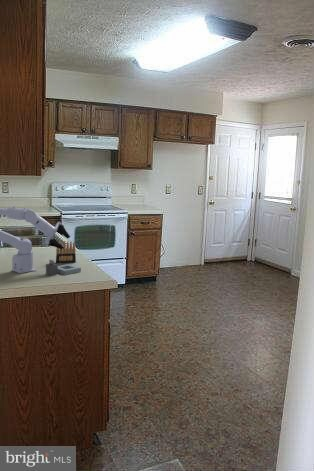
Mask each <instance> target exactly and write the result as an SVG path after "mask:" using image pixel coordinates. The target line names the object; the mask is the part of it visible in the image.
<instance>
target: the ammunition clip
mask: <svg viewBox="0 0 314 471" xmlns="http://www.w3.org/2000/svg"><path fill="white" fill-rule="evenodd" d="M57 242H58V243H59V241H57ZM59 244H61V245H62V246H63V247H64V248H63V249H59V248H57V247H56V250H55V252H56V253H55V255H56V256H55V264H70V263H72V264H73V263H77V262H76V261H77V257H76V256H77V255H76V243H75V241H73V242H72V241H70V243H69V241H63V242H62V241H60V243H59Z"/></svg>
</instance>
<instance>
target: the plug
mask: <svg viewBox="0 0 314 471" xmlns="http://www.w3.org/2000/svg"><path fill="white" fill-rule="evenodd" d="M48 261H49V262H48V263H46V264H45V275H47V274H48V276H50V275H51V276H55V275H56V274H57V275H58V266H59V265H58V264H59V263H56V262H55V259H49V260H48Z"/></svg>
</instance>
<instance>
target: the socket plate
mask: <svg viewBox="0 0 314 471" xmlns="http://www.w3.org/2000/svg"><path fill="white" fill-rule="evenodd" d="M81 271H82V267H80V266H76V265H73V264H70V263H66V264H63V265H61V264H60V265H58V273H59V274H61V275H64V276H65V275H71V274H77V273H81Z"/></svg>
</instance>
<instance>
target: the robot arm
mask: <svg viewBox="0 0 314 471" xmlns="http://www.w3.org/2000/svg"><path fill="white" fill-rule="evenodd" d="M0 216H6V217H7V219H10V220H18V221H25V222H27V223H30V224H31V225H32V226H33V227H34V228H36V229H37V230H38V231H40V232H41V233H43V234H44V235H45V236H46V238H45V241H44V242H43V244H44V245H45V246H50V247H54V248H56V249H57V248H59V250H60V249H63V248H64V247H63V244H62V245H61V244H60V243H58V242H59V241H58V240H56V239H55V238H54V237H55V235H56V233H58V234H60V235H62V236H63V237H65V238H66V239H70V238H71V235H70V234H69V233H68V232H67V230H66V228H65V225H64V224H62V222H60V221H57V222H56V224H55V225H52V224H51V223H49V222H48V221H47V220H46V219H44V218H43V217H41V216H40V215H39V214H37V213H36V212H35V211H34V210H33V209H31V208H25V207H23V208H19V207H16V205H15V206H14V205H12V206H9V207H8V208H5V207H4V208H3V207H0ZM0 242H2V243H5V244H7V245H9V246H11V247H13V248H15V249H16V250H18V251H17V253H15V254H14V255H12V259H11V261H12V262H11V263H12V264H11V265H12V266H11V267H12V268H11V271H13V272H16V273H17V274H24V273H29V272H36V271H37V269H36V268H34V252H33V251H32V250H33V245H32V241H31V240H30V239H29V238H26V237H25V238H23V237H19V236H15V235H13V234H11V233H9V232H6V231H3V230H2V229H0Z"/></svg>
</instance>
